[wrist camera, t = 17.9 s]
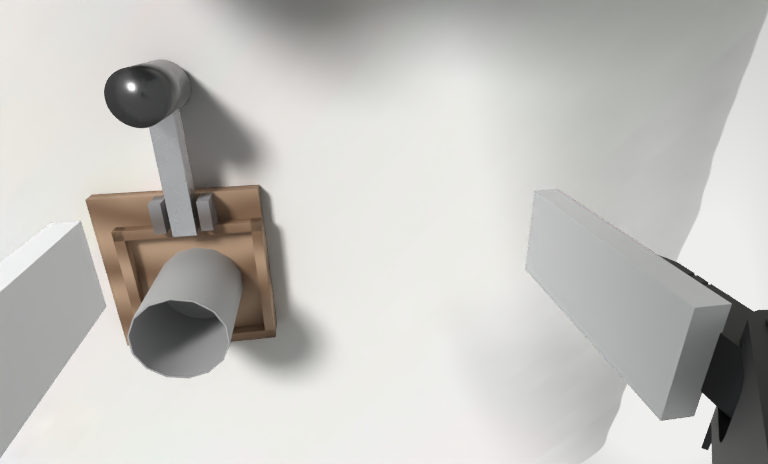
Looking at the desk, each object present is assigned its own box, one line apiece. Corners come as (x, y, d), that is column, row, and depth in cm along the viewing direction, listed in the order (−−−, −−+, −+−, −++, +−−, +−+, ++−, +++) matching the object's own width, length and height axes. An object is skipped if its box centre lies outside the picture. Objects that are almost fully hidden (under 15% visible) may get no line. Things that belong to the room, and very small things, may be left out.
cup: (152, 250, 48) (117, 303, 39) (236, 244, 49) (220, 294, 40) (169, 320, 51) (140, 383, 42) (247, 312, 52) (235, 373, 43)
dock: (91, 194, 46) (73, 209, 43) (259, 184, 48) (255, 197, 45) (132, 337, 53) (119, 360, 49) (276, 323, 55) (274, 344, 52)
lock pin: (133, 60, 41) (97, 68, 34) (186, 59, 42) (161, 66, 35) (169, 224, 48) (145, 260, 40) (214, 221, 48) (198, 256, 41)
